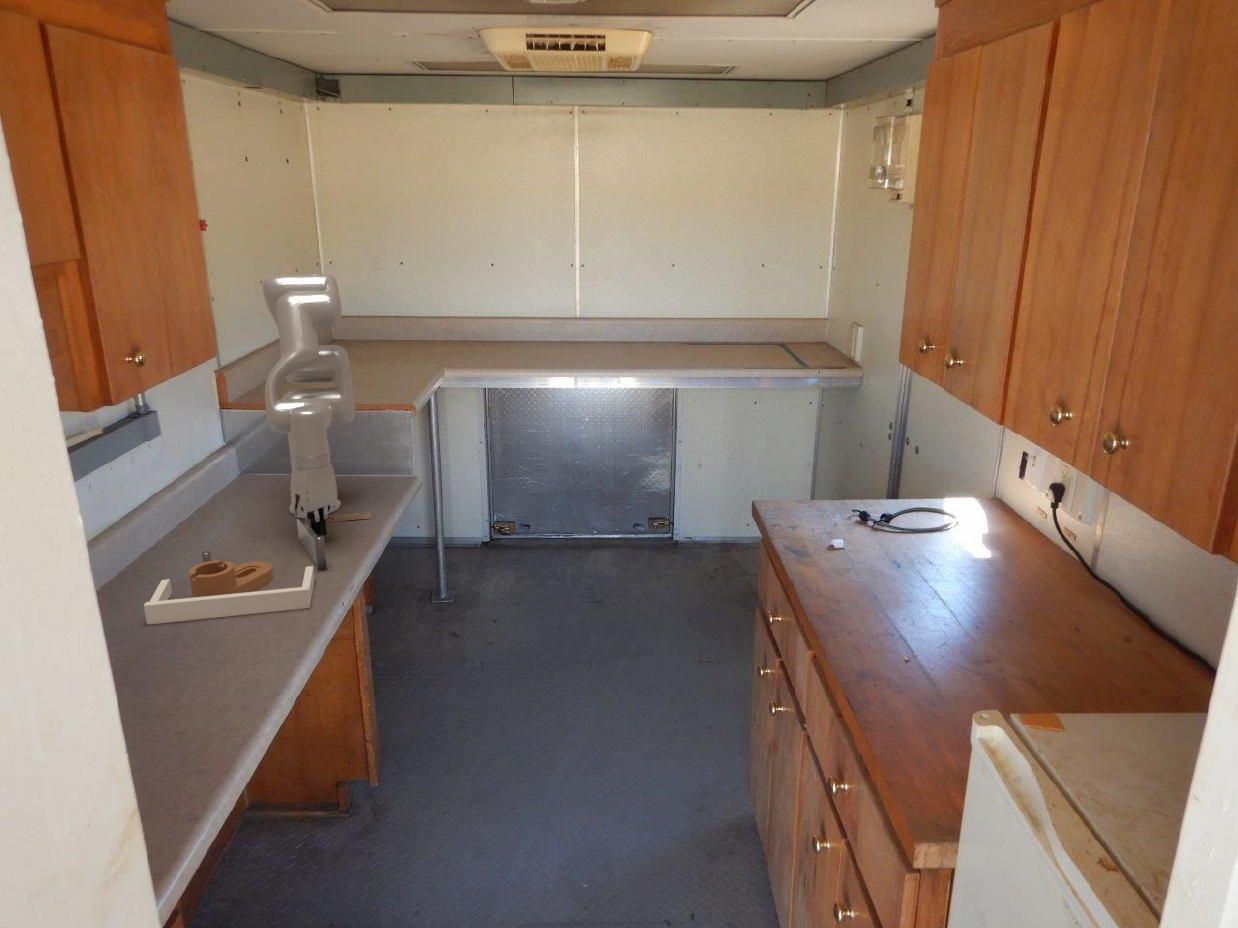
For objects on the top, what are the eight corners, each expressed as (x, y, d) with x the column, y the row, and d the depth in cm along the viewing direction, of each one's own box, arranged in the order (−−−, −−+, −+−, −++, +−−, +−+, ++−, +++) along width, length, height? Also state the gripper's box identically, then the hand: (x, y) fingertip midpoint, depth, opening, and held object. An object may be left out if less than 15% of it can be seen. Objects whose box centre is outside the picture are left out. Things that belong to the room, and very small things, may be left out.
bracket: (215, 612, 172) (210, 580, 170) (184, 604, 175) (179, 572, 173) (281, 576, 188) (278, 547, 186) (252, 570, 191) (248, 541, 189)
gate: (324, 564, 194) (321, 532, 191) (315, 566, 193) (312, 534, 190) (305, 538, 208) (302, 508, 206) (296, 539, 207) (293, 509, 205)
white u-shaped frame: (163, 593, 180) (160, 575, 178) (314, 578, 187) (312, 561, 185) (147, 624, 167) (143, 605, 165) (309, 607, 174) (307, 589, 173)
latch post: (206, 577, 187) (202, 551, 185) (214, 576, 187) (210, 550, 186) (204, 580, 186) (200, 554, 184) (212, 579, 186) (209, 553, 184)
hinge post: (317, 567, 192) (314, 535, 190) (327, 566, 193) (324, 535, 190) (317, 571, 190) (313, 539, 188) (326, 570, 191) (323, 538, 189)
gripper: (325, 449, 206) (332, 521, 212) (273, 466, 194) (282, 542, 200) (348, 454, 203) (354, 527, 209) (297, 472, 190) (305, 549, 196)
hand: (319, 534), depth 204 cm, fingers closed
